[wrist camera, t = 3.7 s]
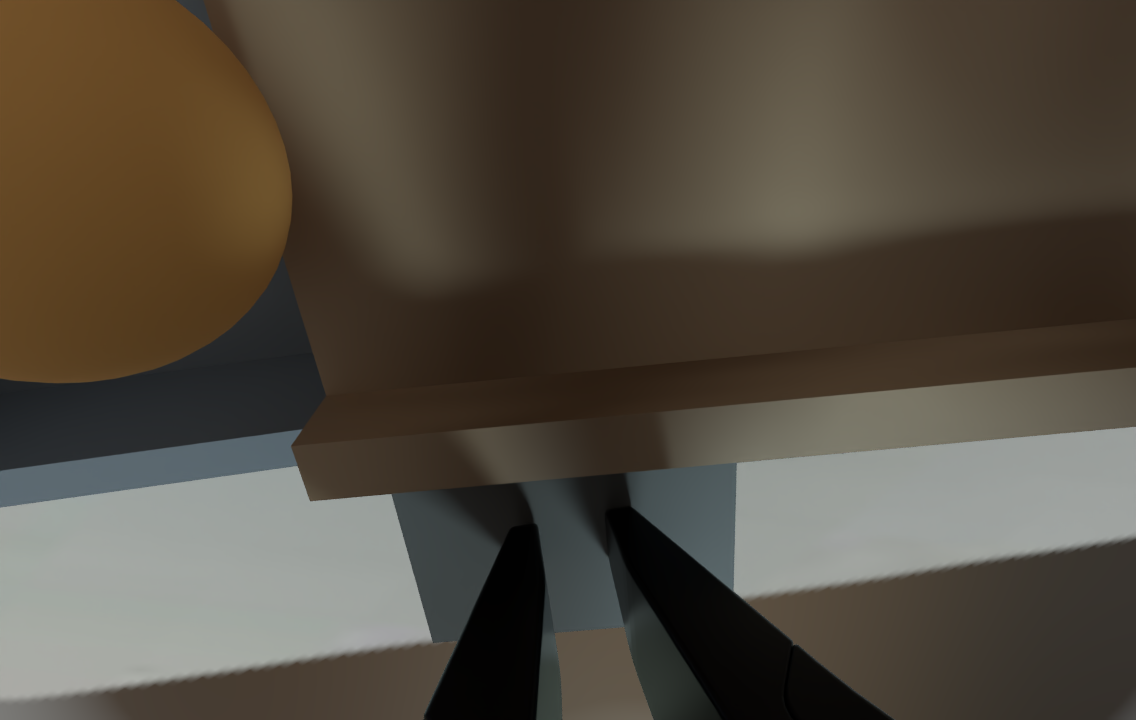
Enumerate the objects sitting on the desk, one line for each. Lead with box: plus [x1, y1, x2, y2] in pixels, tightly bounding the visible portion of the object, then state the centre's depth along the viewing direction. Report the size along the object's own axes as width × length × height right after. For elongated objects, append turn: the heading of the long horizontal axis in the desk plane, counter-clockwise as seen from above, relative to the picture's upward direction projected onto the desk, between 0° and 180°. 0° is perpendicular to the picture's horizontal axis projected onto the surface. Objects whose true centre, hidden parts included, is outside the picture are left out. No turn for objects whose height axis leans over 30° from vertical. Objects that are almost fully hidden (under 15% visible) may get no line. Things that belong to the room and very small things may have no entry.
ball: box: [0, 0, 293, 383], centre depth 5 cm, size 4×4×4 cm
